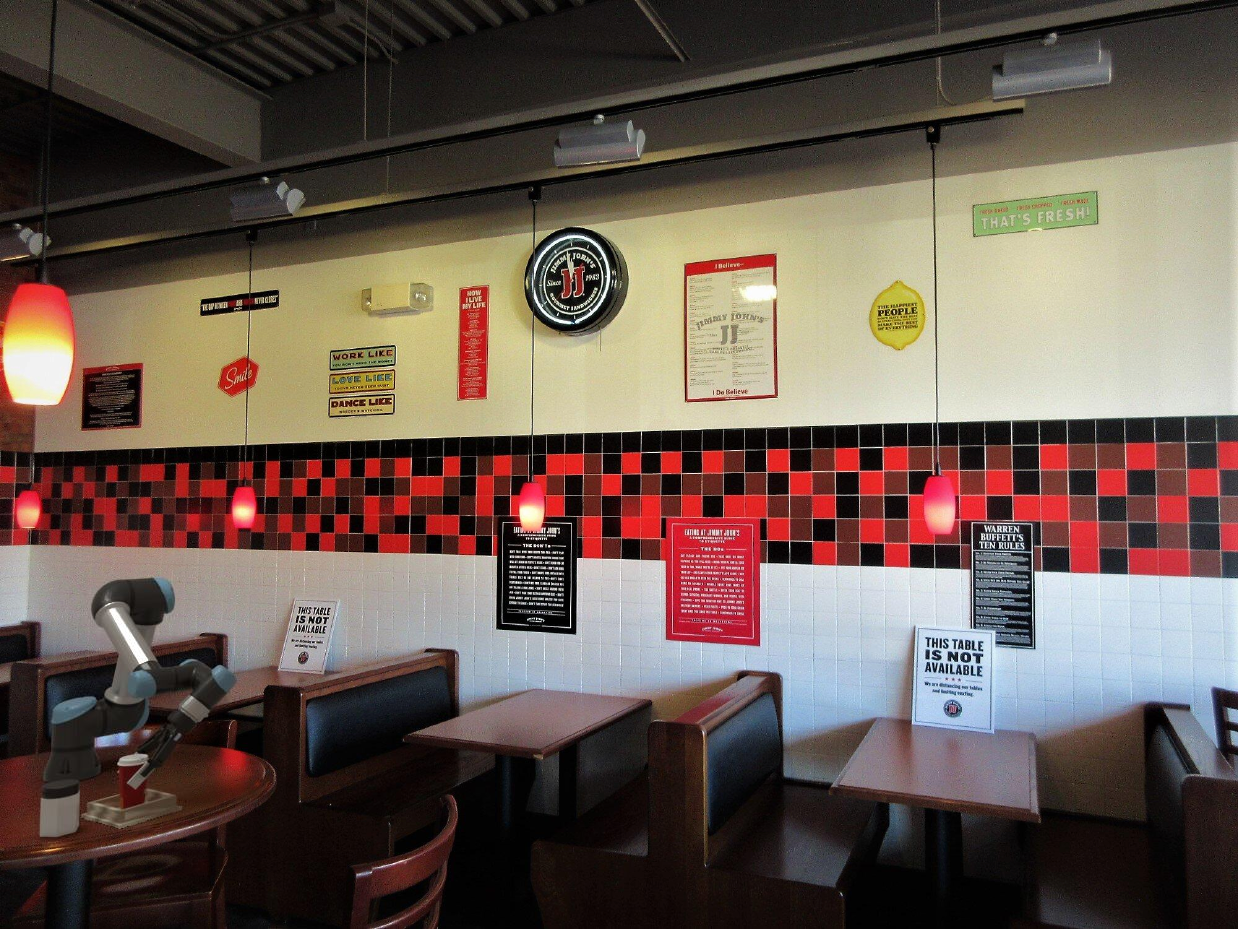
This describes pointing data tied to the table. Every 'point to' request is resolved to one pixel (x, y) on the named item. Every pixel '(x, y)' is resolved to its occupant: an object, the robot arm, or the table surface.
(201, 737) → the table surface
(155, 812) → the cup tray
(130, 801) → the paper cup
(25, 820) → the table surface
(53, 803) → the jar
